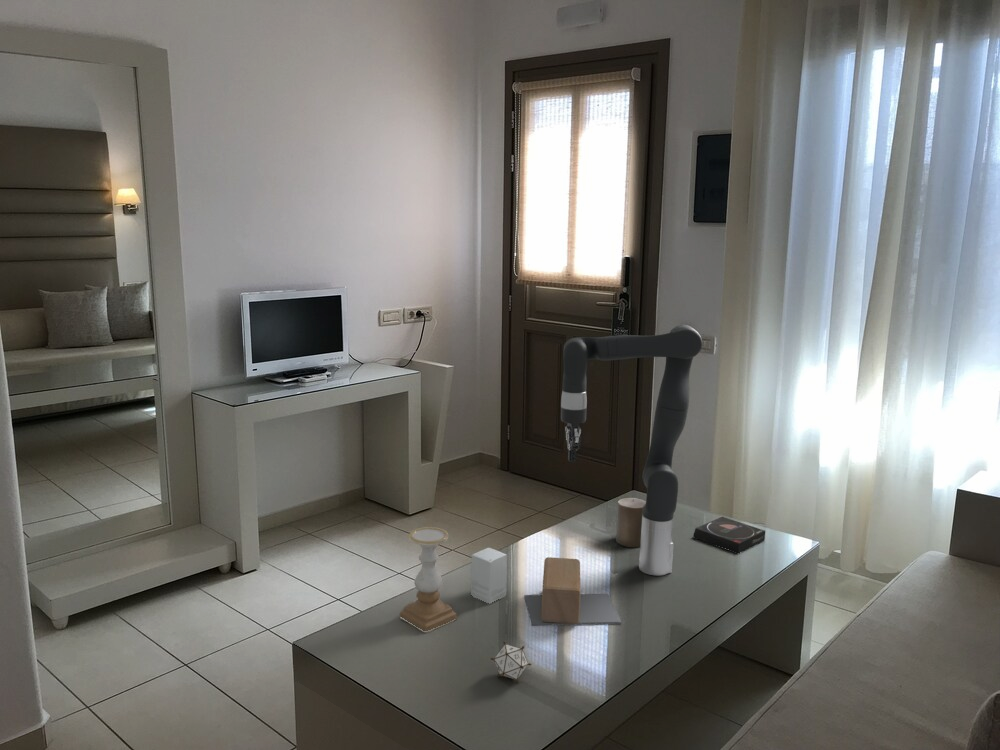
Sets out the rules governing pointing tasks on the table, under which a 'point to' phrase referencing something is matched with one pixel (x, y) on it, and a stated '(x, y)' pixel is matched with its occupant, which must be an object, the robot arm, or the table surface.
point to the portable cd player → (730, 534)
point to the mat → (591, 610)
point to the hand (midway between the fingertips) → (572, 461)
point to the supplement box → (489, 575)
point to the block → (561, 590)
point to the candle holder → (428, 583)
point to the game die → (510, 661)
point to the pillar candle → (629, 522)
